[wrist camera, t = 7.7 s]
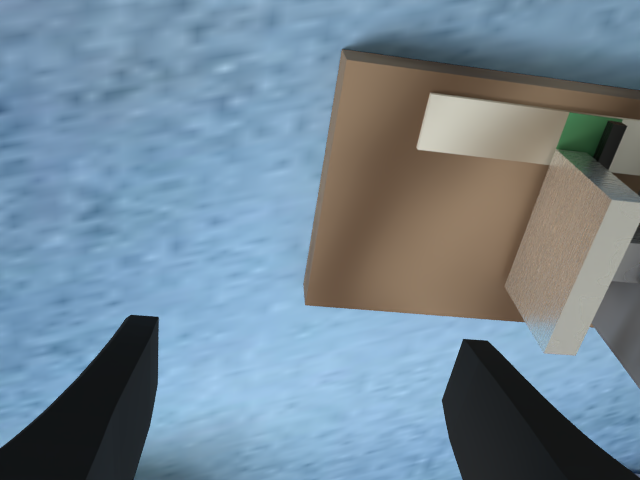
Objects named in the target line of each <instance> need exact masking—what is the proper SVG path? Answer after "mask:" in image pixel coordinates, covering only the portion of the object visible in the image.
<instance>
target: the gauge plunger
mask: <svg viewBox="0 0 640 480" xmlns="http://www.w3.org/2000/svg"><path fill="white" fill-rule="evenodd" d="M626 128H627V126H626V125H625V124H623V123H622V122H616V121H609V120H608V122H607V124H606V126H605V129H604V131H603V134H602V136H601V139H600V141H599V144H598V146H597V148H596V151H595V153H594V156H593V157H592V156H590V155H589V154H588V153H585V152H577V151H569V150H560V149H556V150H555V153H554V155H553V158H552V161H551V163H550V166H549V169H548V171H547V174H546V177H545V180H544V182H543V185H542V188H541V190H540V193H539V196H538V198H537V201H536V204H535V206H534V209H533V212H532V214H531V217H530V220H529V222H528V225H527V228H526V230H525V233H524V236H523V238H522V241H521V244H520V246H519V249H518V252H517V254H516V257H515V260H514V262H513V265H512V268H511V270H510V273H509V276H508V279H507V281H506V284H505V288H506V290H507V292H508V294H509V295H510V297H511V299H512V300H513V302H514V304H515V305H516V307H517V309H518V311H519V312H520V314H521V316H522V317H523V319H524V321H525V322H526V324H527V326H528V328H529V329H530V331H531V333H532V334H533V336H534V338H535V339H536V341H537V343H538V345H539V346H540V348H541V350H542V351H543V353H547V354H562V355H576V354H577V352H578V349H579V347H580V345H581V343H582V341H583V339H584V337H585V335H586V333H587V331H588V329H589V327H590V325H591V323H592V320H593V318H594V316H595V314H596V312H597V310H598V308H599V306H600V304H601V302H602V300H603V298H604V296H605V293H606V291H607V289H608V287H609V285H610V283H611V281H617V282H628V283H639V284H640V224H639V223H640V196H639V195H637V194H636V193H635V192H634V191H633V190H631V189H630V188H629V187H628V186H627V185H625V184H624V183H623V182H622V181H621V180H619V179H618V178H617V177H616V176H615V175H613V174H612V173H611V172H610V171H609V168H610V165H611V163H612V161H613V158H614V156H615V154H616V151H617V149H618V147H619V144H620V142H621V140H622V137H623V135H624V133H625V130H626Z"/></svg>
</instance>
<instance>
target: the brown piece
mask: <svg viewBox="0 0 640 480" xmlns="http://www.w3.org/2000/svg"><path fill="white" fill-rule="evenodd" d="M608 120H609V121H616V122H622V123H623V124H625V125H626V126H627V128H626V130H625V133H624V135H623V137H622V140H621V142H620V144H619V147H618V149H617V151H616V154H615V156H614V158H613V161H612V163H611V165H610V168H609V171H610V172H611V173H612V174H613V175H615V176H616V177H617V178H618V179H619V180H621V181H622V182H623V183H624V184H625V185H627V186H628V187H629V188H630V189H631V190H633V191H634V192H635V193H636V194H637V195H639V196H640V90H633V89H626V88H618V87H611V86H604V85H597V84H590V83H582V82H575V81H568V80H561V79H554V78H546V77H539V76H532V75H525V74H518V73H510V72H503V71H496V70H489V69H482V68H474V67H467V66H460V65H453V64H446V63H438V62H431V61H424V60H417V59H410V58H402V57H395V56H388V55H381V54H374V53H366V52H359V51H352V50H345V49H342V52H341V58H340V64H339V70H338V77H337V83H336V89H335V95H334V101H333V107H332V113H331V119H330V125H329V131H328V138H327V144H326V150H325V156H324V162H323V168H322V174H321V180H320V186H319V192H318V198H317V205H316V211H315V217H314V223H313V229H312V235H311V241H310V247H309V253H308V259H307V266H306V272H305V278H304V284H303V285H304V297H305V305H310V306H323V307H336V308H349V309H361V310H374V311H387V312H400V313H413V314H426V315H439V316H452V317H464V318H477V319H490V320H503V321H516V322H525V321H524V319H523V317H522V316H521V314H520V312H519V311H518V309H517V307H516V305H515V304H514V302H513V300H512V299H511V297H510V295H509V294H508V292H507V290H506V288H505V284H506V281H507V279H508V276H509V273H510V270H511V268H512V265H513V262H514V260H515V257H516V254H517V252H518V249H519V246H520V244H521V241H522V238H523V236H524V233H525V230H526V228H527V225H528V222H529V220H530V217H531V214H532V212H533V209H534V206H535V204H536V201H537V198H538V196H539V193H540V190H541V188H542V185H543V182H544V180H545V177H546V174H547V171H548V169H549V166H550V163H551V161H552V158H553V155H554V153H555V150H556V149H560V150H569V151H577V152H585V153H588V154H589V155H590V156H592V157H593V156H594V153H595V151H596V148H597V146H598V144H599V141H600V139H601V136H602V134H603V131H604V129H605V126H606V124H607V122H608ZM639 224H640V223H639ZM590 327H593V328H595V329H596V330H597V332H598V333H599V334H600V336H601V337H602V338H603V340H604V341H605V342H606V344H607V345H608V347H609V348H610V349H611V351H612V352H613V353H614V355H615V356H616V357H617V359H618V360H619V361H620V363H621V364H622V365H623V367H624V368H625V370H626V371H627V372H628V374H629V375H630V376H631V378H632V379H633V380H634V382H635V383H636V384H637V386H638V387H639V388H640V284H639V283H628V282H617V281H611V283H610V285H609V287H608V289H607V291H606V293H605V296H604V298H603V300H602V302H601V304H600V306H599V308H598V310H597V312H596V314H595V316H594V318H593V320H592V323H591V325H590Z"/></svg>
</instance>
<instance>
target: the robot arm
mask: <svg viewBox="0 0 640 480" xmlns="http://www.w3.org/2000/svg"><path fill="white" fill-rule="evenodd" d="M158 326H159V317H153V316H139V315H130V316H129V317H127V318H126V319H125V320H124V322H123V323H122V325H121V326H120V327H119V329H118V330H117V331H116V333H115V334H114V335H113V337H112V338H111V339H110V341H109V342H108V343H107V344H106V346H105V347H104V348H103V349H102V350H101V352H100V353H99V354H98V355H97V356H96V358H95V359H94V360H93V361H92V362H91V363H90V364H89V365H88V367H87V368H86V369H85V370H84V371H83V372H82V373H81V374H80V376H79V377H78V378H77V379H76V380H75V381H74V382H73V383H72V384H71V385H70V386H69V387H68V388H67V389H66V390H65V391H64V392H63V393H62V394H61V395H60V396H59V397H58V398H57V399H56V400H55V401H54V402H53V403H52V404H51V405H50V406H49V407H48V408H47V409H46V410H45V411H44V412H43V413H41V414H40V415H39V416H38V417H37V418H36V419H35V420H34V421H33V422H32V423H30V424H29V425H28V426H27V427H26V428H25V429H23V430H22V431H21V432H20V433H19V434H18V435H16V436H15V437H14V438H13V439H11V440H10V441H9V442H8V443H6V444H5V445H4V446H3V447H1V448H0V480H134V476H135V473H136V470H137V467H138V463H139V460H140V457H141V454H142V450H143V447H144V444H145V440H146V437H147V434H148V430H149V427H150V423H151V418H152V412H153V407H154V402H155V396H156V390H157V385H158ZM442 403H443V409H444V414H445V420H446V425H447V430H448V435H449V439H450V443H451V446H452V449H453V452H454V455H455V458H456V461H457V464H458V467H459V470H460V473H461V476H462V479H463V480H640V474H634V473H633V472H631V471H630V470H629V469H627V468H626V467H625V466H623V465H622V464H621V463H619V462H618V461H617V460H616V459H614V458H613V457H612V456H610V455H609V454H608V453H607V452H605V451H604V450H603V449H601V448H600V447H599V446H598V445H596V444H595V443H594V442H593V441H592V440H590V439H589V438H588V437H587V436H586V435H585V434H583V433H582V432H581V431H580V430H579V429H578V428H577V427H576V426H574V425H573V424H572V423H571V422H570V421H569V420H568V419H567V418H565V417H564V416H563V415H562V414H561V413H560V412H559V411H558V410H557V409H556V408H555V407H554V406H553V405H552V404H551V403H549V402H548V401H547V400H546V399H545V398H544V397H543V396H542V395H541V394H540V393H539V392H538V391H537V390H536V389H535V388H534V387H533V386H532V385H531V384H530V383H529V382H528V381H527V380H526V379H525V378H524V377H523V376H522V375H521V374H520V373H519V372H518V371H517V370H516V369H515V368H514V367H513V366H512V365H511V364H510V362H509V361H508V360H507V359H506V358H505V357H504V356H503V355H502V354H501V353H500V352H499V351H498V350H497V349H496V348H495V347H494V346H492V345H491V344H490V343H489V342H488V341H484V340H470V339H463V341H462V344H461V347H460V350H459V353H458V356H457V359H456V361H455V364H454V367H453V370H452V373H451V376H450V379H449V381H448V384H447V387H446V390H445V393H444V396H443V399H442Z"/></svg>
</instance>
